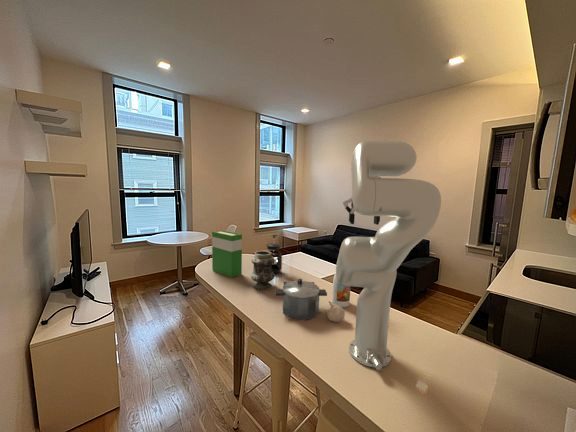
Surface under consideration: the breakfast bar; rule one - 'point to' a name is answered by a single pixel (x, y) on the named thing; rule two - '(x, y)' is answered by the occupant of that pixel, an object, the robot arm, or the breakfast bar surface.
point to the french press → (277, 263)
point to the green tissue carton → (227, 253)
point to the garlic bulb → (335, 313)
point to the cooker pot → (300, 305)
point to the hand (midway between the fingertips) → (364, 223)
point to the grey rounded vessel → (262, 270)
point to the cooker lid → (301, 289)
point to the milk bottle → (340, 293)
